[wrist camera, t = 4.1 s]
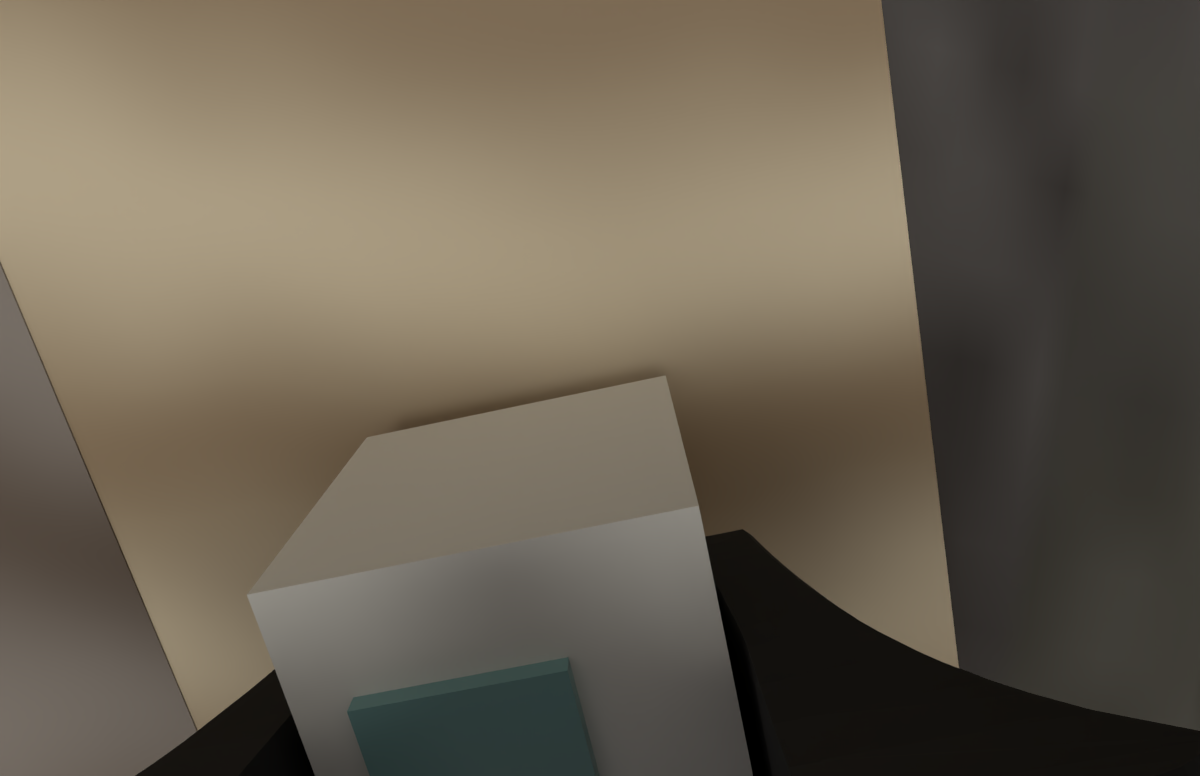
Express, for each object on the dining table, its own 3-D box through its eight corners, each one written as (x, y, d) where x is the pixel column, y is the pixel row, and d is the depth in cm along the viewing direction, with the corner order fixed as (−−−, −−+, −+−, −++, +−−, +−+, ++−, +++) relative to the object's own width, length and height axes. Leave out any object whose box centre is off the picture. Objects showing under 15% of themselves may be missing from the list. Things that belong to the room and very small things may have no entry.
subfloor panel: (940, 703, 15) (969, 752, 14) (-216, 912, 16) (-279, 973, 15) (827, -203, 11) (853, -242, 10) (-681, 175, 13) (-813, 181, 11)
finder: (743, 756, 13) (807, 1044, 9) (481, 803, 13) (427, 1102, 9) (665, 375, 11) (701, 515, 7) (367, 437, 11) (237, 607, 7)
